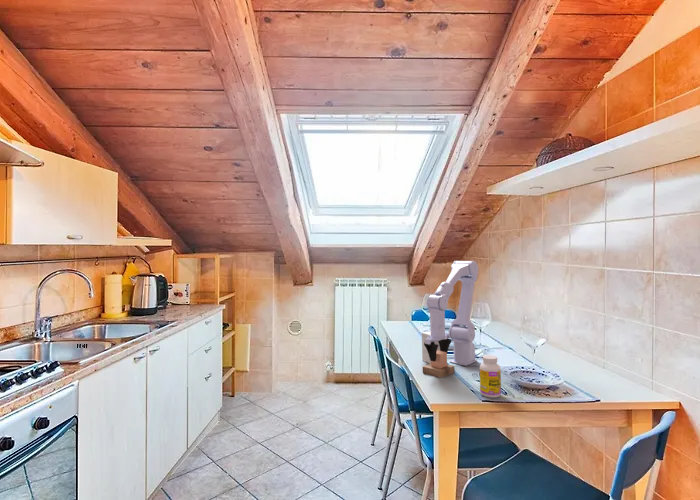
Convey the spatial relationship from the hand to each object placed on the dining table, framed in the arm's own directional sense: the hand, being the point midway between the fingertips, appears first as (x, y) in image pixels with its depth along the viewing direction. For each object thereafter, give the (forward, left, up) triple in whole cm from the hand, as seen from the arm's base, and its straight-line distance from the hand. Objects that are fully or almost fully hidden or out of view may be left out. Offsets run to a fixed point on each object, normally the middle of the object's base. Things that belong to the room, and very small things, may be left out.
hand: (438, 358), depth 155 cm
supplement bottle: (+8, +26, -6) cm, 28 cm away
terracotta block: (0, 0, -3) cm, 3 cm away
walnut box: (0, 0, -6) cm, 6 cm away
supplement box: (-11, -10, -6) cm, 16 cm away
